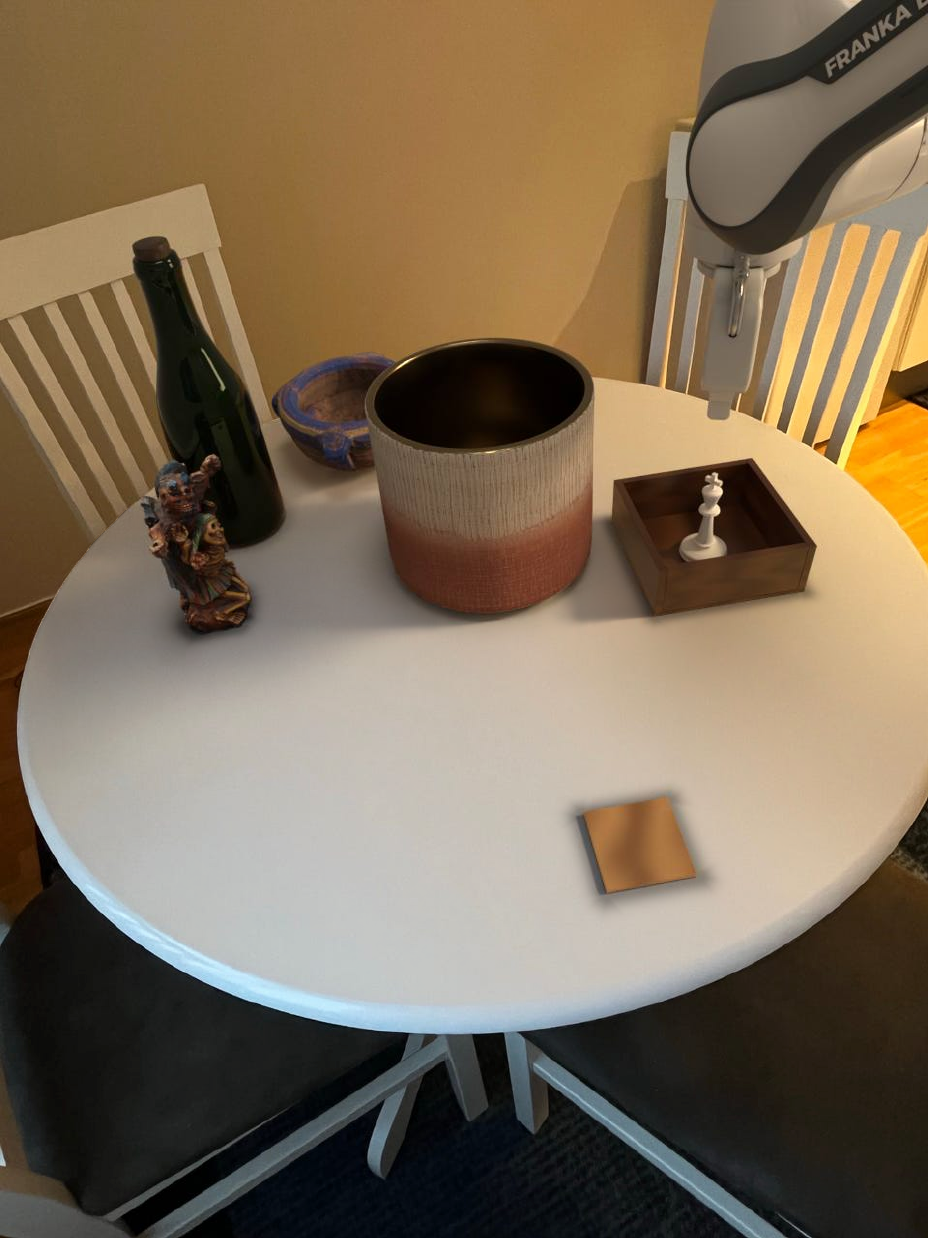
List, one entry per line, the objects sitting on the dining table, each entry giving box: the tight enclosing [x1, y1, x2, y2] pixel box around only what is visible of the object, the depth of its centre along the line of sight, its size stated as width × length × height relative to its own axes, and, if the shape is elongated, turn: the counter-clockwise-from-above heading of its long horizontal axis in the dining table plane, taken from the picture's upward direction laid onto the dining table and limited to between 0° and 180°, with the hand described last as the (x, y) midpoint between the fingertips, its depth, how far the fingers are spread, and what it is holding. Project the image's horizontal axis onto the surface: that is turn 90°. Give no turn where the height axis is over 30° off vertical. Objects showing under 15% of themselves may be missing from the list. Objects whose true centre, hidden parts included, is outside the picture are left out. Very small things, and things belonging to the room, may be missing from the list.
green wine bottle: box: [131, 235, 286, 547], centre depth 89 cm, size 10×10×33 cm
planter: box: [365, 337, 595, 614], centre depth 85 cm, size 22×22×20 cm
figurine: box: [140, 454, 253, 635], centre depth 82 cm, size 11×9×18 cm
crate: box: [610, 457, 818, 617], centre depth 87 cm, size 16×16×6 cm
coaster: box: [582, 796, 698, 894], centre depth 65 cm, size 7×7×1 cm
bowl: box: [271, 351, 398, 472], centre depth 105 cm, size 18×18×10 cm
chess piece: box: [679, 472, 727, 562], centre depth 85 cm, size 5×5×10 cm
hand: (719, 387), depth 73 cm, fingers open, 8 cm apart
